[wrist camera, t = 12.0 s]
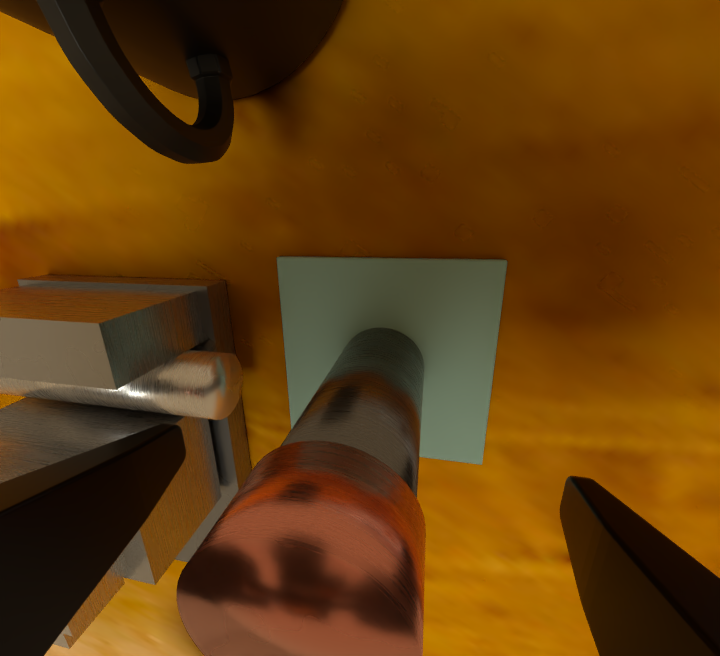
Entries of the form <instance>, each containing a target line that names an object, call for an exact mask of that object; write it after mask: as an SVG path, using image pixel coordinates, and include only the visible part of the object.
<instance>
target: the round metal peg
mask: <svg viewBox="0 0 720 656" xmlns="http://www.w3.org/2000/svg"><path fill="white" fill-rule="evenodd" d="M423 386H424V360H423V357H422V354H421V352H420V350H419V348H418V347H417V345H416V344H415V343H414V342H413V341H412V340H411V339H410V338H409V337H408V336H406V335H405V334H403V333H401V332H399V331H397V330H394V329H390V328H383V327H376V328H370V329H367V330H364V331H362V332H360V333H358V334H357V335H355V336H354V337H353V338H352V339H351V340H350V341H349V342H348V344H347V345H346V347H345V348H344V350H343V351H342V353H341V354H340V356H339V357H338V359H337V360H336V362H335V363H334V365H333V367H332V368H331V370H330V371H329V373H328V374H327V376H326V377H325V379H324V380H323V382H322V383H321V385H320V386H319V388H318V390H317V391H316V393H315V394H314V396H313V397H312V399H311V400H310V402H309V403H308V405H307V406H306V408H305V409H304V411H303V413H302V414H301V416H300V417H299V419H298V420H297V422H296V423H295V425H294V426H293V428H292V429H291V431H290V432H289V434H288V436H287V437H286V439H285V440H284V442H283V443H282V445H281V446H280V447H279V448H277V449H275V450H273V451H271V452H270V453H268V454H267V455H266V456H264V457H263V458H262V459H261V460H260V461H259V462H258V463H257V465H256V466H255V467H254V469H253V470H252V472H251V473H250V475H249V476H248V477H247V479H246V480H245V482H244V483H243V485H242V486H241V487H240V489H239V490H238V492H237V493H236V495H235V496H234V497H233V499H232V500H231V502H230V503H229V505H228V506H227V507H226V509H225V510H224V512H223V513H222V515H221V516H220V517H219V519H218V520H217V522H216V523H215V525H214V526H213V527H212V529H211V530H210V532H209V533H208V535H207V536H206V537H205V539H204V540H203V542H202V543H201V545H200V546H199V547H198V549H197V550H196V552H195V553H194V555H193V556H192V557H191V559H190V560H189V562H188V563H187V565H186V566H185V568H184V569H183V570H182V573H181V575H180V577H179V580H178V585H177V604H178V609H179V613H180V616H181V619H182V622H183V624H184V626H185V628H186V630H187V632H188V634H189V635H190V637H191V638H192V640H193V641H194V643H195V644H196V645H197V647H198V648H199V649H200V650H201V652H202V653H203V654H204V655H205V656H422V653H423V615H424V576H425V538H426V531H425V521H424V515H423V512H422V510H421V507H420V504H419V502H418V500H417V485H418V468H419V452H420V435H421V419H422V402H423Z"/></svg>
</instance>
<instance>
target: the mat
mask: <svg viewBox="0 0 720 656" xmlns="http://www.w3.org/2000/svg"><path fill="white" fill-rule="evenodd" d="M276 258H277V269H278V280H279V292H280V303H281V315H282V326H283V338H284V349H285V360H286V372H287V383H288V395H289V406H290V417H291V429H292V428H293V426H294V425H295V423H296V422H297V420H298V419H299V417H300V416H301V414H302V413H303V411H304V409H305V408H306V406H307V405H308V403H309V402H310V400H311V399H312V397H313V396H314V394H315V393H316V391H317V390H318V388H319V386H320V385H321V383H322V382H323V380H324V379H325V377H326V376H327V374H328V373H329V371H330V370H331V368H332V367H333V365H334V363H335V362H336V360H337V359H338V357H339V356H340V354H341V353H342V351H343V350H344V348H345V347H346V345H347V344H348V342H349V341H350V340H351V339H352V338H353V337H354V336H355V335H357V334H358V333H360V332H362V331H364V330H367V329H370V328H376V327H383V328H390V329H394V330H397V331H399V332H401V333H403V334H405V335H406V336H408V337H409V338H410V339H411V340H412V341H413V342H414V343H415V344H416V345H417V347H418V348H419V350H420V352H421V354H422V357H423V360H424V386H423V402H422V419H421V435H420V452H419V457H426V458H434V459H441V460H449V461H457V462H465V463H472V464H480V465H482V460H483V452H484V444H485V436H486V428H487V420H488V412H489V404H490V396H491V388H492V380H493V372H494V365H495V357H496V349H497V341H498V333H499V325H500V317H501V309H502V301H503V293H504V285H505V277H506V269H507V260H505V259H440V258H374V257H309V256H280V257H276Z"/></svg>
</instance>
